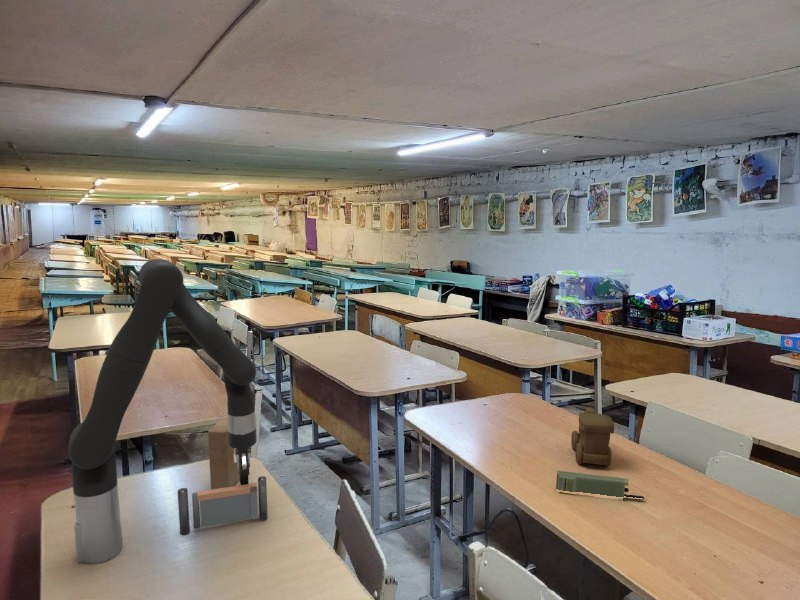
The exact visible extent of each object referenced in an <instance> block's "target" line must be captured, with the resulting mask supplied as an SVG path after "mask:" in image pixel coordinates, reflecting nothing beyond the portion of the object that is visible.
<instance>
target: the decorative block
mask: <svg viewBox="0 0 800 600" xmlns="http://www.w3.org/2000/svg"><path fill="white" fill-rule="evenodd" d="M227 419H228V416H222V417H221V418H220V419H219V420H218V421H217V422H216V423H215V424H214V425H213V426H212V427H211V428H210V429H209V430H208V431H207V435H208V436H207V437H208V438H207V439H208V441H207V442H208V452H209V453H208V456H209V457H208V458H209V459H208V460H209V474H210V475H209V476H210V490H213V489H219V488H226V487H232V486H236V485H237V483H238V482H239V481H240V475H239V469H238V468H237V462H235V454H234V453H235V451H234V450H235V448H232V447H230V446H229V444H228V427H227Z"/></svg>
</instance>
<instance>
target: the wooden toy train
mask: <svg viewBox="0 0 800 600" xmlns="http://www.w3.org/2000/svg"><path fill="white" fill-rule="evenodd" d="M578 423H579V424H578V431H577V430H573V431H572V432H571V438H570V440H571V449H572V450H573V451H575V462H576V461H577V462H576V463H577V464H578V463H580V464H579V465H581V464H582V463H583V464H593V465H603V466H605V465H606V466H605V467H607V466H608V467H610V466H611V464H612V454H613V453H612V449H611V447H610V442H611V441H610V439H611V434H612V435H613V434H614V433H615V423H614V421H613V419H612V417H611V416H610V415H609V414H603V413H597V411H596V410H595V409H594V408H593V407H587V408H586V409H585V410H584V412H579V413H578Z"/></svg>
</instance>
